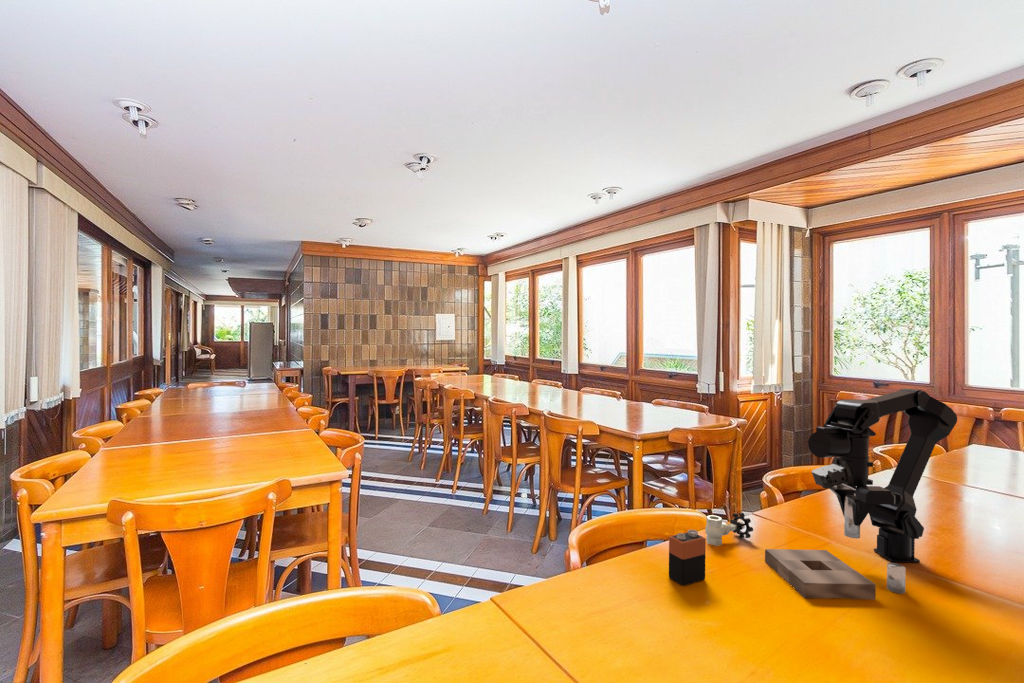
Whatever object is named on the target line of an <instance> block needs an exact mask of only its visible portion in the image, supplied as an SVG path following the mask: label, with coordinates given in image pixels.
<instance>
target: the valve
mask: <svg viewBox="0 0 1024 683" xmlns="http://www.w3.org/2000/svg"><path fill="white" fill-rule="evenodd" d="M745 516H746V515H745V513H744V512H739V513H737V512H734V513H732V519H730V521H729V523H730V524H729V523H728V524H727V523H726V522H723V519H722V517H720V516H717V515H712V514H711V515H707V516H706V521H705V522H706V525H705V527H704V528H705V529H704V530H705V534H706V537H705V539H706V541H707V542H706V543H707V545H709V544H711V545H710V546H712V545H715V546H714V547H720V546H719V545H721V546H722V545H723V538H722V537H723V536H727V535H729V534H730V532H732V533H734V534H735V533H736V534H737V535H738V536H737V537H738V538H740V539H744V538H746V539H750V538H751V537H752V536H751V534H750V533H751V532H754V528H753V526H750V523H752V521H751V519H750V518H749V517H747V518H745ZM739 520H742V521H739ZM743 529H745V531H742V530H743Z"/></svg>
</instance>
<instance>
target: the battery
mask: <svg viewBox="0 0 1024 683" xmlns="http://www.w3.org/2000/svg"><path fill="white" fill-rule="evenodd" d="M698 533H699V531H697V530H695V529H688V530H687V532H683V533H680V532H679V533H677V534H674V535H670V536H669V537H668V578H669V579H670V580H673V581H674V582H675V583H677V584H678V585H681V586H682V587H683V586H688V585H691V584H694V583H698V582H701V581H704V580H706V548H707V546H706V543H707V542H706V537H704V536H702V535H699V534H698Z"/></svg>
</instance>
